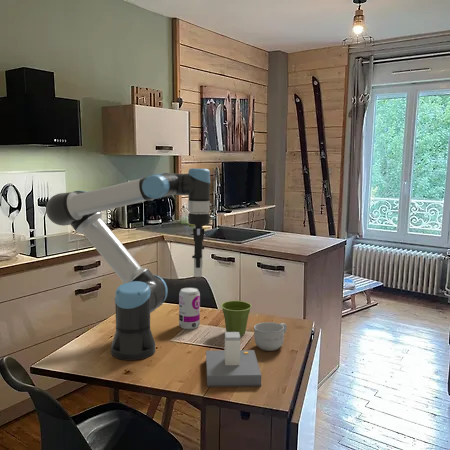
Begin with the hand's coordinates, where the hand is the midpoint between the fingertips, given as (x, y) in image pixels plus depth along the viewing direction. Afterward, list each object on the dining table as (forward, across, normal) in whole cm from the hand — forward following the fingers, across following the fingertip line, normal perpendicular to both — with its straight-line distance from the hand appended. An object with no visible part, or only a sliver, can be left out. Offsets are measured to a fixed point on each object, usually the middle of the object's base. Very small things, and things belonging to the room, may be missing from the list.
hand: (198, 271), depth 165 cm
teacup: (+27, -4, -27) cm, 38 cm away
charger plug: (+26, -24, -11) cm, 37 cm away
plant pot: (+27, +9, -14) cm, 32 cm away
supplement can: (+27, +17, +4) cm, 32 cm away
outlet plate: (+26, -24, -12) cm, 37 cm away
